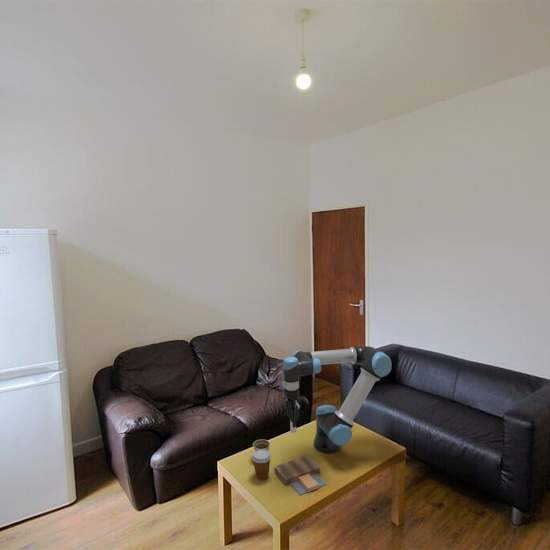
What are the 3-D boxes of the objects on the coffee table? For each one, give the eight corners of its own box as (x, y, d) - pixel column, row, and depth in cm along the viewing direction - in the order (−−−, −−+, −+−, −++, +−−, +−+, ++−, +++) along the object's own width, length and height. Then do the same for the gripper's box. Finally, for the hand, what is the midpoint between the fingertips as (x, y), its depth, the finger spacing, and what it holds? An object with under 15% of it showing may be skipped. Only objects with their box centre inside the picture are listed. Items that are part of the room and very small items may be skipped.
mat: (316, 474, 183) (316, 473, 183) (326, 484, 175) (326, 484, 175) (290, 484, 176) (290, 483, 176) (299, 495, 168) (299, 494, 168)
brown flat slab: (307, 460, 195) (307, 454, 194) (320, 472, 184) (320, 467, 184) (274, 471, 186) (274, 466, 185) (285, 485, 175) (285, 479, 175)
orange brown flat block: (308, 477, 180) (308, 473, 180) (318, 488, 172) (318, 484, 172) (298, 481, 178) (298, 477, 177) (308, 492, 170) (308, 488, 169)
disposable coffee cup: (256, 484, 176) (255, 461, 175) (250, 473, 185) (249, 451, 184) (274, 479, 180) (273, 456, 179) (267, 468, 189) (266, 446, 187)
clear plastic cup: (268, 465, 191) (268, 450, 190) (251, 463, 193) (250, 448, 192) (272, 455, 200) (271, 440, 199) (255, 453, 202) (255, 438, 201)
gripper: (279, 385, 188) (281, 428, 190) (291, 394, 177) (293, 440, 179) (291, 382, 192) (293, 424, 194) (304, 390, 180) (306, 435, 183)
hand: (293, 431), depth 186 cm, fingers closed
